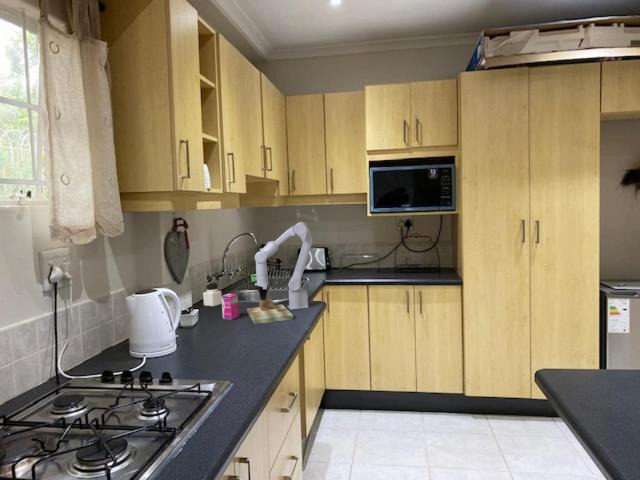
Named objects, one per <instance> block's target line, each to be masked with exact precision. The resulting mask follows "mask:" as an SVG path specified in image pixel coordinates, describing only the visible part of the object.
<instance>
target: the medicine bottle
mask: <svg viewBox="0 0 640 480" xmlns="http://www.w3.org/2000/svg"><path fill="white" fill-rule="evenodd" d="M205 288H206V291H205V292H203V293H202V297H203V306H206V307H207V306H208V307H215V306H219V305H222V300H221V296H223V294H222V290H219V289H218V283H217V282H208V283H206V285H205Z"/></svg>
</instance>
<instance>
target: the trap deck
mask: <svg viewBox="0 0 640 480" xmlns="http://www.w3.org/2000/svg"><path fill="white" fill-rule="evenodd" d="M273 305H274V309H271V310H263V311H262V310H261V309H260V306H258V307H250V308H249V307H248V308H247V309H246V310H247V311H246V312H247V314H248V316H249V317H250V319H251V321H252V322H253V323H254V325H259V324H260V323H261V324H267V323H268V322H269V323H275V322H276V321H277V322H283V321H284V320H285V321H289V320H290V321H292V320H294V315H293V313H292V312H291V311H290V310H289V309H288V308H287V307H285V306H284V304H276V305H275V304H273ZM269 323H268V324H269ZM261 324H260V325H261Z"/></svg>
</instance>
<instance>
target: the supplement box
mask: <svg viewBox="0 0 640 480" xmlns="http://www.w3.org/2000/svg"><path fill="white" fill-rule="evenodd" d="M238 295H239V294H235V293H227V294H224V295H222V296H221V300H222V304H221V308H222V309H221V310H222V320H228V321H233V320H237V319H239V318H240V310H239V308H240V307H239V297H238Z"/></svg>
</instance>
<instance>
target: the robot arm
mask: <svg viewBox="0 0 640 480" xmlns="http://www.w3.org/2000/svg"><path fill="white" fill-rule="evenodd" d="M296 235H297V236H298V237H299V238H300V239H301V241H302V245H301V248H300V253H299V255H298V259H297V261H296V264H295V268H294V272H293V274H292V277H290V279H289V282H288V284H287V285H288V288H289V289H288V305H287V307H286V308H287V309H288V310H299V309H301V310H302V309H309V302H308V301H309V297H308V296H309V295H308V291H307V289H304V288H302V283H303V281H302V277H303V273H304V271H305V266H306V264H307V262H308V261H307V260H308V257H309V254H310V250H311V248H312V245H313V237H312V234H311V231H310V228H309V226H308V225H307V223H305V222H304V221H299V222H297V223H296V224H294V225H293V226H291V227H290V228H288V229H286V230H285V232H283V233H282V234H281V235H280V236H279V237H278V238H277V239H276V240H271V241H268V242H266V245H265V246H264V247H263V248H259V251H257V252H256V254H254V260H255V273H256V276H255V277H256V282H255V283H254V286H257V287H256V289H257V292H258V294H259V298H260V300H266V299H267V293H268V291H269V281H268V280H269V279H268V277H269V275H268V265H267V263H268V262H267V259H268V258H270V257H272V256H273V255H274V254H275V253H277V251H278V250H279V248H280V247H279V246H281V244H283V243H284V242H285V241H286V240H288V239H289V238H291V237H294V236H296Z"/></svg>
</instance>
